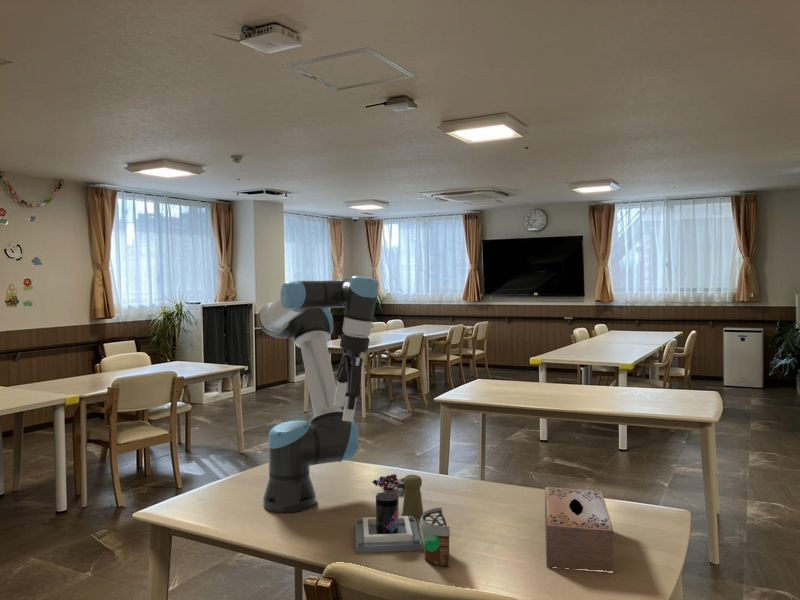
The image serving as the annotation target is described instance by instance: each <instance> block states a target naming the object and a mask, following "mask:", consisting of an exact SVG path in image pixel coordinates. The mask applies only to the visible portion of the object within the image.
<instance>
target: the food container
mask: <svg viewBox="0 0 800 600" xmlns="http://www.w3.org/2000/svg"><path fill="white" fill-rule="evenodd" d="M419 519H420V521H419V528H420V529H421V531H422V539H423V552H424V553H423V554H424V555H423V556H424V560H425V562H426V563H427V564H428V565H430V566H433V567H436V568H437V567H438V568H442V569H446V568H447V569H448V568H450V537H451V532H450V526H449V525H447V522H446V518H445V517H444V514H443V507H434V508H430V509H428V510H426V511H423V514H422V517H421V518H419Z"/></svg>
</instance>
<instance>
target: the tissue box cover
mask: <svg viewBox="0 0 800 600" xmlns="http://www.w3.org/2000/svg"><path fill="white" fill-rule="evenodd" d="M544 504H545V505H544V531H545V532H544V533H545V535H546V536H545V557H546V559H545V561H546V563H545V564H546V568H547V567H557V568H569V569H588V570H603V571H605V570H606V571H613V572H614V540H615V539H614V527H613V524H612V520H611V518H610V515H609V512H608V508H607V505H606V501H605V498H604V495H603V492H602V490H600V489H599V490H597V489H583V488H582V489H581V488H567V487H566V488H565V487H553V486H544ZM557 568H556V569H557Z"/></svg>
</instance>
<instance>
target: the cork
mask: <svg viewBox="0 0 800 600" xmlns="http://www.w3.org/2000/svg"><path fill="white" fill-rule="evenodd" d="M403 478H404V480H403V485H404V487H405V491H404V498H403V504H402V505H403V506H402V511H401V516H408V517H409V516H413V517H414V518H415V520H419V519H421V517H422V514H423V513H424V507H423V500H422V494H421V487H422V484H423V480H422V478H421V476H420V475H417V474H407V475H405V476H404V477H403Z"/></svg>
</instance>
